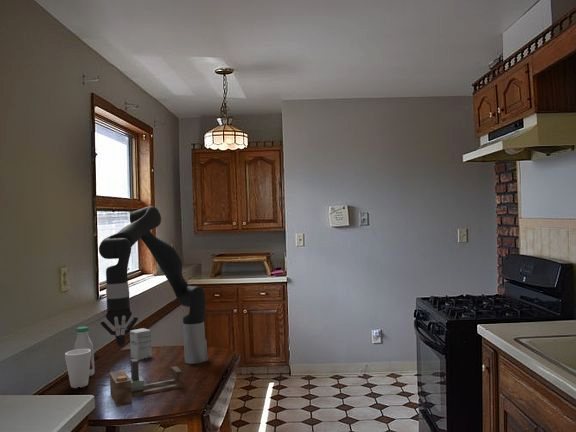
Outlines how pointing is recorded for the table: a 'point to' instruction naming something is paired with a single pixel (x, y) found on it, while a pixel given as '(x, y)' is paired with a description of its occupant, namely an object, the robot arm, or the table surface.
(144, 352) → the supplement box
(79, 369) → the foam cup
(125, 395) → the brown mechanism housing
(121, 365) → the table surface
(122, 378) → the button
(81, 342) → the milk bottle
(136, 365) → the sliding handle
